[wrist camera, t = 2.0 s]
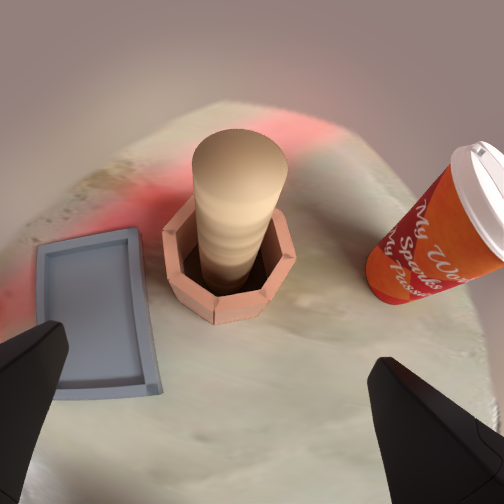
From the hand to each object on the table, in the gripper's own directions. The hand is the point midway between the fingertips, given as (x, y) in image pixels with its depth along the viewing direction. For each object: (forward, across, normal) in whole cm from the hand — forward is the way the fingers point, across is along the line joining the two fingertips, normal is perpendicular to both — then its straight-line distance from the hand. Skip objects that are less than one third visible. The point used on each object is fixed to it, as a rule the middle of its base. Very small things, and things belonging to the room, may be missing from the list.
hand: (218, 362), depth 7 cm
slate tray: (+10, +10, +8) cm, 16 cm away
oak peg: (+14, 0, +4) cm, 15 cm away
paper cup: (+15, -14, +4) cm, 21 cm away
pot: (+14, 0, +4) cm, 15 cm away
